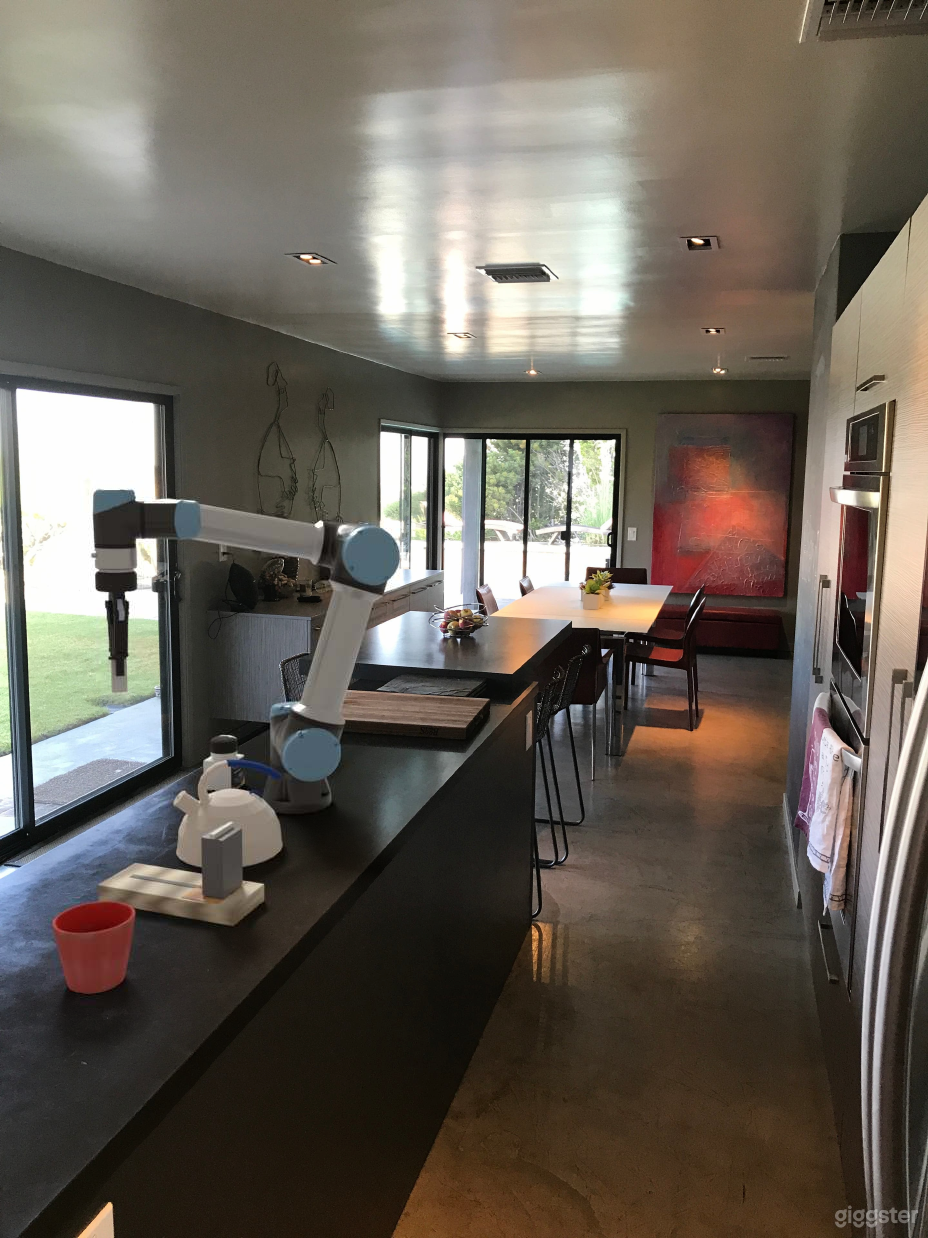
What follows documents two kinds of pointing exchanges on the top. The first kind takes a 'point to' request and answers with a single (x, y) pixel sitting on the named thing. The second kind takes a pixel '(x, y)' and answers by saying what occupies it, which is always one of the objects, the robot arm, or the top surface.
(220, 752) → the medicine bottle
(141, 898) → the fader console
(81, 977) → the flower pot
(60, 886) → the top surface
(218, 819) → the kettle
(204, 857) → the fader knob
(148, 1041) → the top surface
